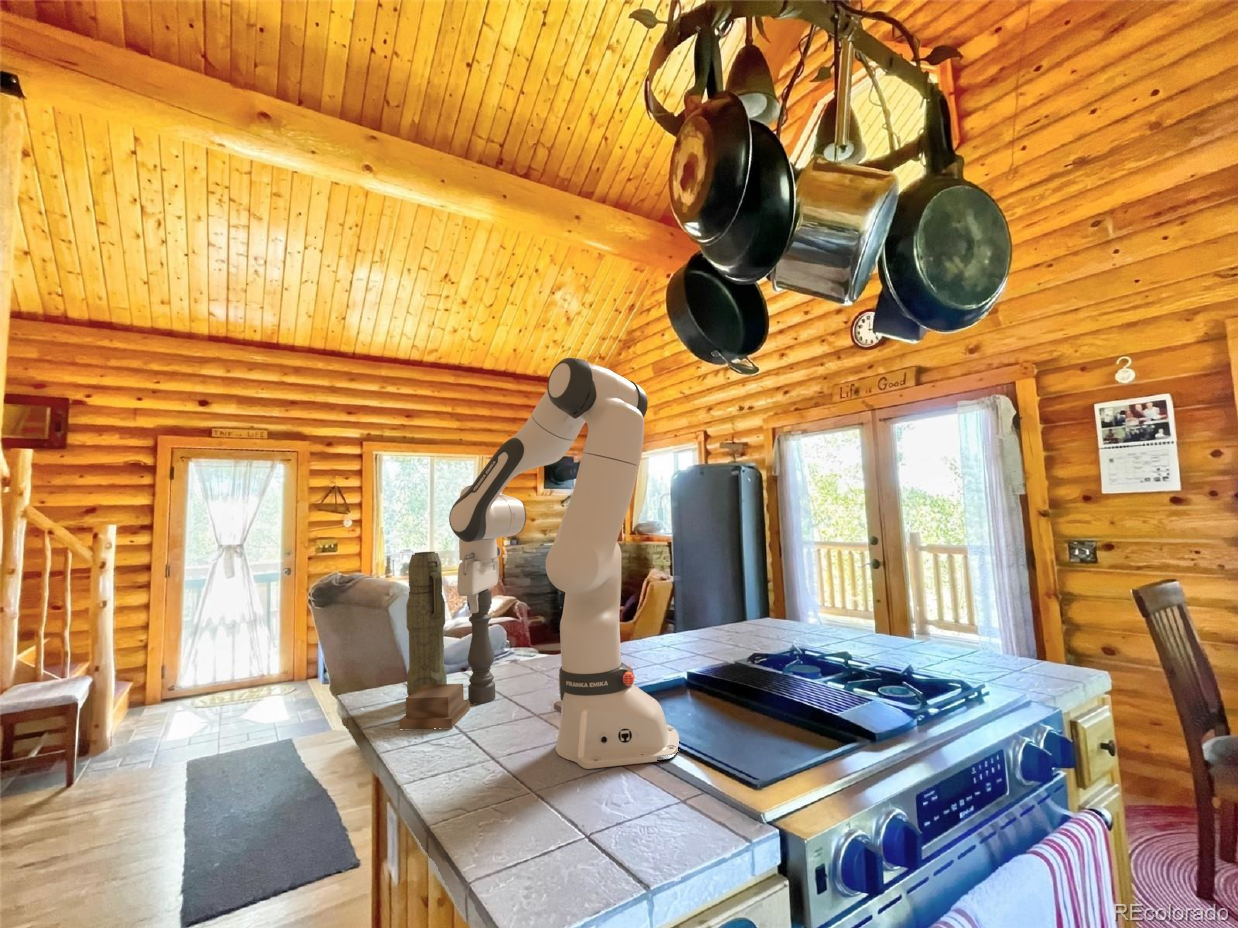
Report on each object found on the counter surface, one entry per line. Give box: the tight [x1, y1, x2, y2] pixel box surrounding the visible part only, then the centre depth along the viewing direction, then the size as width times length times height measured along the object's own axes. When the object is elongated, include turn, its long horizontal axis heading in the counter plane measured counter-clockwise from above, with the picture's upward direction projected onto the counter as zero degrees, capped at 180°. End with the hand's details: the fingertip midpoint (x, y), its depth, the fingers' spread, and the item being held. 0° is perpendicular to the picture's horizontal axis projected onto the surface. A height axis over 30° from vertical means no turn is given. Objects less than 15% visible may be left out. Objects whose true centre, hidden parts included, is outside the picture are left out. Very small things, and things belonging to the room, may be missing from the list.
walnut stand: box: [398, 683, 471, 730], centre depth 118 cm, size 11×11×6 cm
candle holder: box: [466, 589, 496, 705], centre depth 131 cm, size 6×6×25 cm
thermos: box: [405, 551, 448, 697], centre depth 132 cm, size 9×12×35 cm
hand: (479, 610), depth 132 cm, fingers closed on candle holder, 6 cm apart
